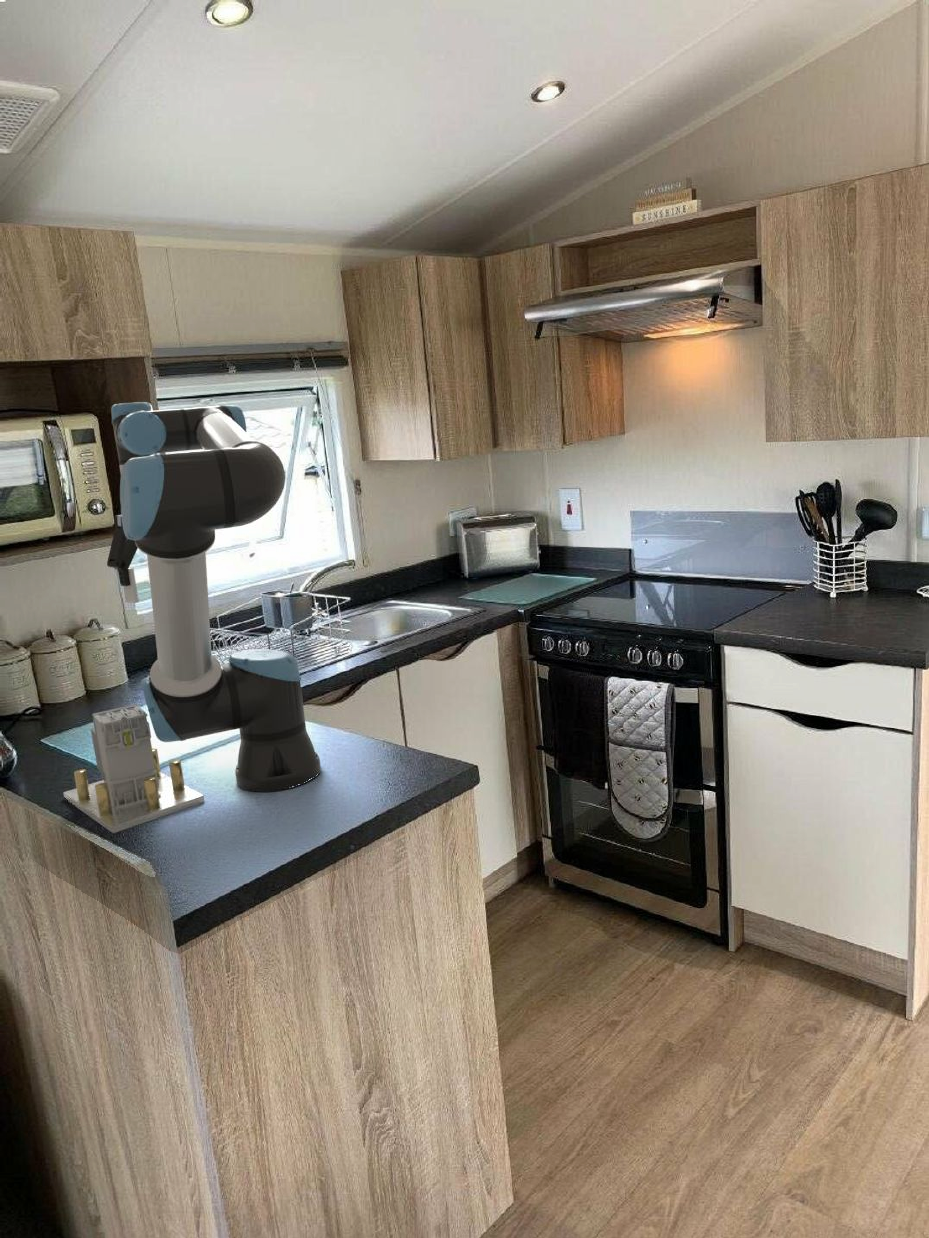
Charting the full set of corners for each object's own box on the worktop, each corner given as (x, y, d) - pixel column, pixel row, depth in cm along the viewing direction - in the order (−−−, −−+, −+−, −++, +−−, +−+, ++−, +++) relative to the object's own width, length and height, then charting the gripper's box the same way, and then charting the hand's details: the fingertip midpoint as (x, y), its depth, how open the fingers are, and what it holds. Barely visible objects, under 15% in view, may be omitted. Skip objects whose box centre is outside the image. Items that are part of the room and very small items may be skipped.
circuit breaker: (141, 774, 179) (128, 696, 176) (160, 796, 167) (147, 714, 164) (99, 785, 175) (85, 706, 172) (116, 809, 163) (101, 724, 160)
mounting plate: (204, 801, 166) (199, 767, 165) (113, 833, 156) (106, 797, 155) (149, 771, 183) (144, 740, 182) (64, 798, 173) (58, 765, 172)
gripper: (179, 479, 196) (194, 582, 200) (75, 493, 175) (94, 608, 180) (205, 478, 192) (220, 583, 197) (102, 492, 171) (121, 609, 176)
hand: (160, 595), depth 188 cm, fingers open, 13 cm apart
